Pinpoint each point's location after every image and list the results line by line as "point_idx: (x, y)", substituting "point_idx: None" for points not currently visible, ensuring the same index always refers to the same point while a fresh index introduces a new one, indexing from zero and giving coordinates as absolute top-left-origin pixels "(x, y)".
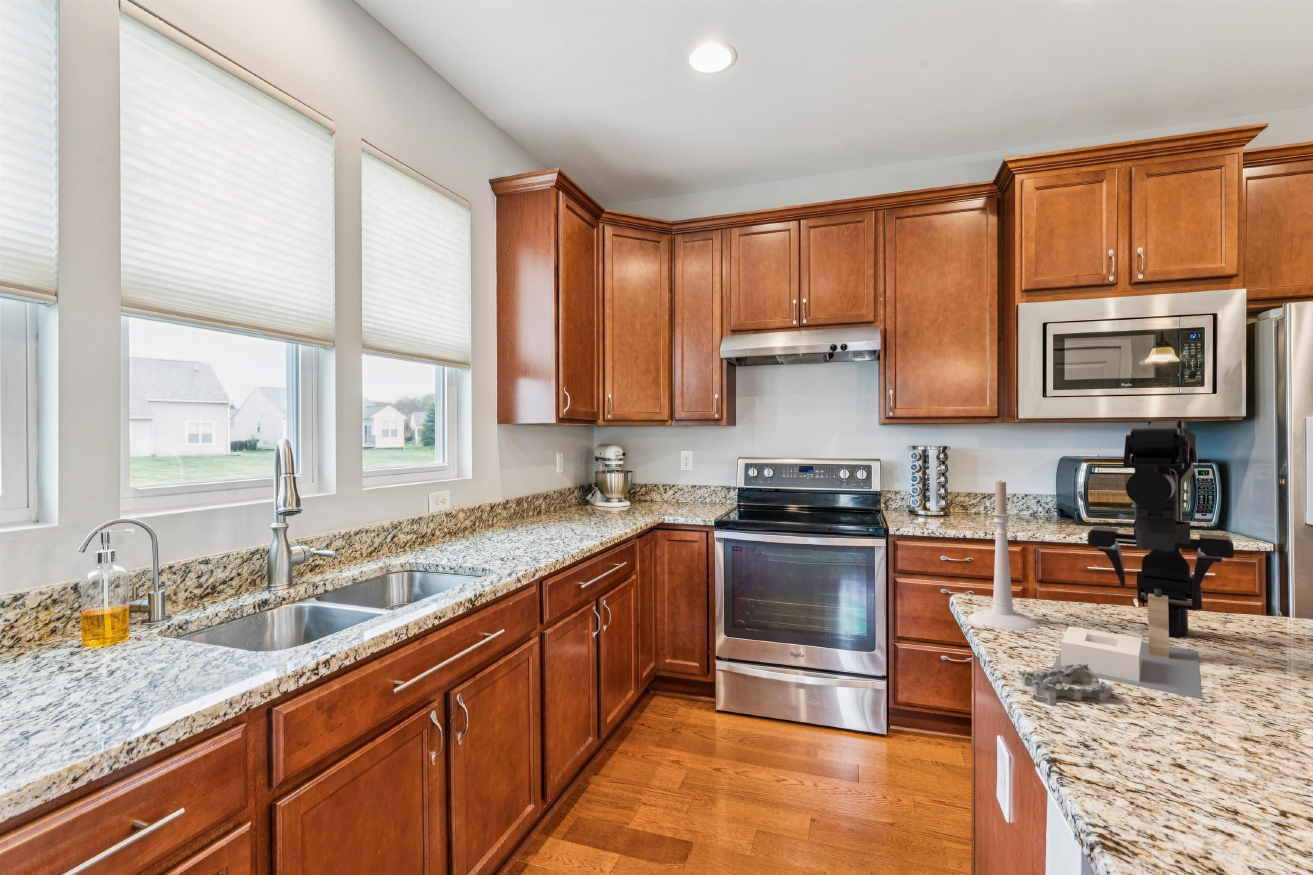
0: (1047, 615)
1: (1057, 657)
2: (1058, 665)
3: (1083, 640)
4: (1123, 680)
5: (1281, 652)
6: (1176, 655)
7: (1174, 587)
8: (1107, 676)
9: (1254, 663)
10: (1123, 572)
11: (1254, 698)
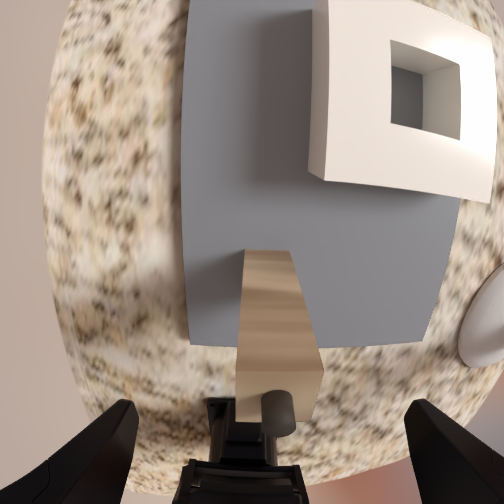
0: None
1: None
2: None
3: (461, 66)
4: None
5: (102, 408)
6: (228, 286)
7: (224, 498)
8: None
9: (112, 345)
10: (440, 463)
11: (99, 108)
